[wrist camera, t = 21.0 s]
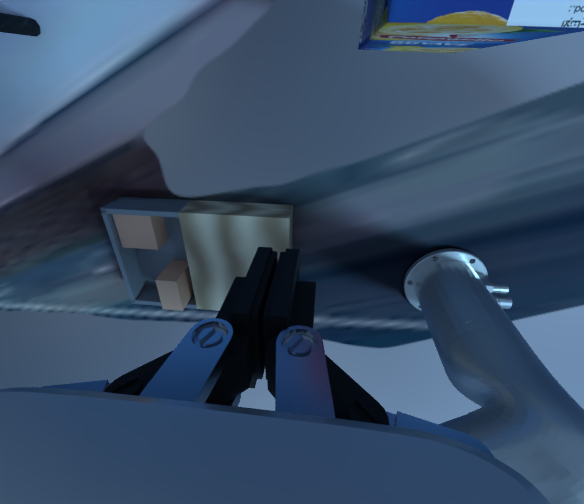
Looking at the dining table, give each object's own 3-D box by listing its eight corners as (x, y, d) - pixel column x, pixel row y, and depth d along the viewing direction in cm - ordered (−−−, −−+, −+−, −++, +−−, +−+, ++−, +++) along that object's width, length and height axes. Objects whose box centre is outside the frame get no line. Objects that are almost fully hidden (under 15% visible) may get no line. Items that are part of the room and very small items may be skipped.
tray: (191, 199, 48) (178, 212, 43) (207, 291, 57) (197, 308, 52) (120, 196, 49) (99, 208, 44) (146, 286, 58) (131, 303, 54)
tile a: (176, 281, 48) (155, 280, 48) (183, 310, 51) (163, 309, 51) (191, 261, 53) (172, 260, 53) (196, 288, 56) (178, 287, 56)
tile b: (111, 212, 45) (125, 204, 48) (122, 247, 48) (134, 237, 51) (149, 214, 45) (160, 205, 48) (158, 249, 48) (168, 239, 51)
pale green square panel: (292, 204, 46) (289, 218, 42) (292, 297, 55) (288, 316, 51) (191, 199, 48) (178, 212, 43) (207, 291, 57) (197, 308, 52)
